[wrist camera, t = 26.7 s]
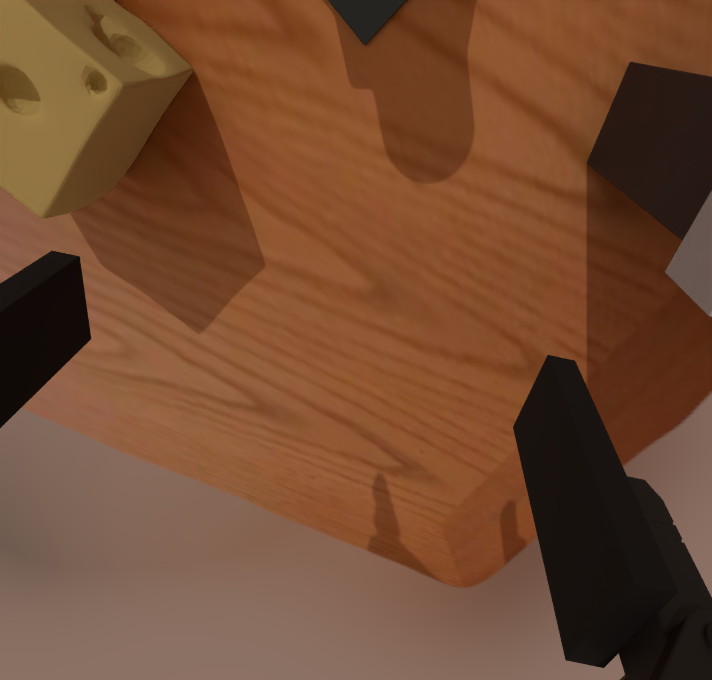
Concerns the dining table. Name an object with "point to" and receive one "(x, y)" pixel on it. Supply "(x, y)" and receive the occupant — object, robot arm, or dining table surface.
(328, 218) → the dining table surface
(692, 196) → the lidded grey box
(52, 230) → the dining table surface
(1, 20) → the cheese
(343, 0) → the mat
